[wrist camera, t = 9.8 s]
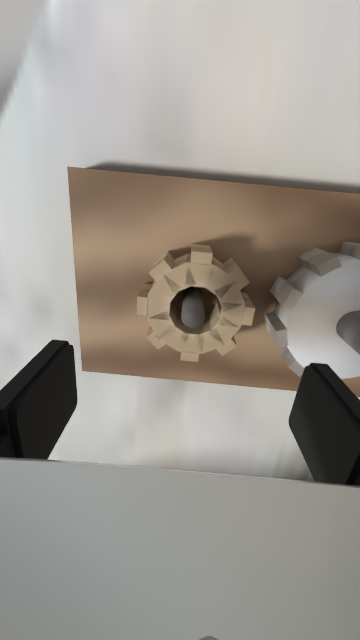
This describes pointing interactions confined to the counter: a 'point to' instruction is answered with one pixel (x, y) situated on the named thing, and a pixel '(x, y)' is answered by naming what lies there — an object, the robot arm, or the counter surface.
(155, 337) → the wooden gear
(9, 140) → the counter surface
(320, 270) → the gear board
